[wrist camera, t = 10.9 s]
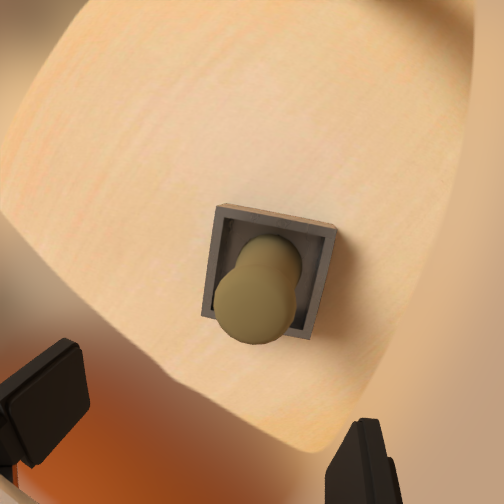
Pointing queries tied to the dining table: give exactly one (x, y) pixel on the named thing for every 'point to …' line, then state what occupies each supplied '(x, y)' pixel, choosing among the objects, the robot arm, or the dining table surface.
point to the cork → (259, 291)
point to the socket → (265, 222)
